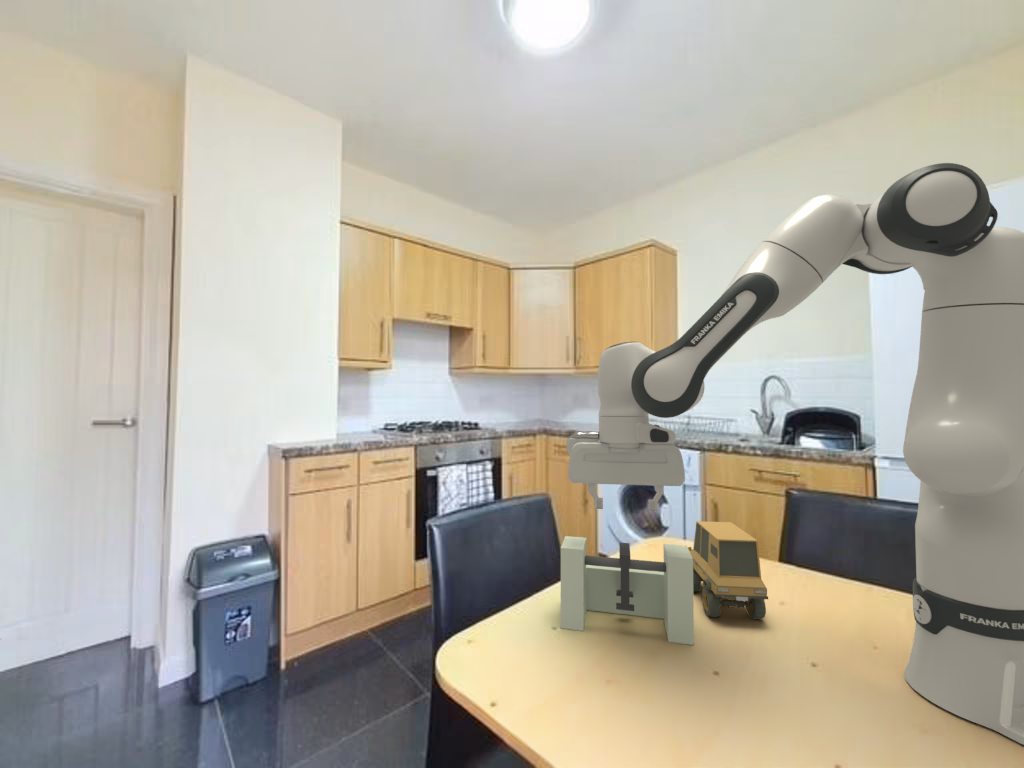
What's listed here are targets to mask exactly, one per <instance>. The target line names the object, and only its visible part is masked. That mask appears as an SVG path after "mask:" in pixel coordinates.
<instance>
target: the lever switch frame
mask: <svg viewBox="0 0 1024 768" xmlns="http://www.w3.org/2000/svg"><path fill="white" fill-rule="evenodd" d="M688 547H689V546H688V545H685V544H674V543H673V544H671V543H663V561H656V560H655V561H652V560H645V559H644V560H641V559H632V558H630V566H629V591H633V597H629V604H633V605H634V611H627V610H618V609H616V603H621V596H616V590H621V566H620V557H608V556H607V557H606V556H599V555H598V556H597V555H596V556H595V555H587V537H583V536H568V535H565V536H564V539H563V541H562V544H561V546H560V629H565V630H573V631H579V632H581V631H582V632H584V630H585V624H586V618H587V617H586V616H587V611H594V612H601V613H611V614H619V615H627V616H636V617H643V618H644V617H645V618H652V619H654V618H655V619H662V620H663V623H664V628H665V633H666V636H667V638H666V639H667V642H668V643H674V644H682V645H691V646H694V645H695V633H694V632H695V631H694V630H695V629H694V627H695V621H694V620H695V619H694V616H695V615H694V612H695V611H694V591H693V558H692V556H691V554H690V551H689V549H688Z"/></svg>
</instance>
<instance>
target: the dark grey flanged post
mask: <svg viewBox="0 0 1024 768" xmlns="http://www.w3.org/2000/svg"><path fill="white" fill-rule="evenodd" d="M619 558H620V566H621V590H616V596H621V603H616V609H618V610H627V611H634V605H633V604H629V597H633V591H629V566H630V559H631V545H630V542H619Z"/></svg>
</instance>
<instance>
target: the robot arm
mask: <svg viewBox="0 0 1024 768" xmlns="http://www.w3.org/2000/svg"><path fill="white" fill-rule="evenodd" d="M990 218H992V220H991V222H990V224H989V223H988V222H989V220H990ZM997 220H998V211H997V209H996V207H995V206H994V205H993V203H992V202H991V199H990V194H989V191H988V188H987V186H986V184H985V182H984V181H983V179H982V178H981V177H980V175H979V174H978V173H976V172H975V171H974V170H973V169H971V168H969V167H968V166H965V165H962V164H958V163H953V162H952V163H951V162H942V163H935V164H930V165H926V166H923V167H921V168H918V169H915V170H913V171H912V172H909V173H908V174H906V175H904V176H902V177H901V178H900V179H897V180H896V181H895V182H894V183H892V184H891V185H890V186H889V187H888V188H887V189H886V190H885V192H883V194H881V195H880V196H879V197H877V198H876V199H875V200H874V201H873V203H871V204H870V203H866V204H860V203H855V202H853V201H851V200H850V199H848V198H846V197H844V196H841V195H837V194H820V195H817V196H814V197H812V198H810V199H809V200H807V201H806V202H804V203H803V204H802V205H800V206H799V207H798V208H797V209H795V210H794V211H793V212H791V214H789V215H788V216H787V217H786V218H784V220H783V221H781V222H780V223H779V224H778V225H777V226H776V227H775V228H774V229H773V230H772V231H771V232H769V233H768V235H767V236H766V237H765V238H763V240H762V241H761V242H760V243H759V244H758V245H757V247H756V248H755V249H754V250H753V251H751V252H752V253H750V255H749V256H748V257H747V259H746V260H745V261H744V262H743V263H742V264H741V266H740V268H739V269H738V271H737V272H736V274H734V277H733V278H732V280H731V281H730V283H729V284H728V286H727V287H726V289H725V290H724V291H723V293H722V294H721V296H720V297H718V299H717V300H716V301H715V302H714V303H713V304H712V305H711V306H710V307H709V308H708V309H707V310H706V311H705V312H704V314H702V315H701V316H700V318H698V319H697V320H696V321H695V323H694V324H693V325H691V327H689V329H687V331H685V332H684V334H683V335H682V336H681V337H679V339H677V340H676V341H675V342H674V343H672V344H670V345H668V346H666V347H664V348H663V349H660V350H657V351H655V350H654V349H651V348H650V347H647V346H645V345H644V344H643V343H641V341H640V342H639V341H629V342H628V341H625V342H621V343H620V342H619V343H616V344H613V345H611V346H609V347H607V348H605V349H604V350H603V351H602V353H600V357H599V363H598V372H597V373H598V374H597V393H598V397H599V400H600V402H599V404H600V406H599V410H598V431H595V432H594V431H593V432H592V431H590V432H581V431H577V432H574V434H573V433H572V434H571V435H568V437H567V439H566V452H567V454H568V455H569V461H568V471H567V472H568V474H567V478H568V479H569V481H570V482H571V483H573V484H585V485H586V484H587V490H588V492H589V494H590V496H591V497H592V499H593V500H594V501H593V502H594V510H603V509H604V498H603V497H599V496H598V494H597V493H596V489H597V485H619V486H622V485H623V486H625V485H626V486H629V485H630V486H654V491H655V492H656V493H655V495H654V496H653V498H652V499H647V500H648V501H647V502H648V511H649V512H658V511H659V509H658V505H659V503H658V502H659V501H660V500H661V498H662V496H663V494H664V491H665V490H664V489H665V488H664V486H665V487H681V486H682V485H683V484H684V483H685V481H686V474H685V472H686V471H685V464H684V459H683V456H682V455H683V454H682V453H681V451H680V448H679V447H677V446H676V445H675V444H674V443H675V442H676V440H677V437H676V436H677V435H676V432H675V431H674V430H672V429H670V428H665V427H662V426H660V425H659V424H651V423H650V421H649V417H650V416H649V415H652V416H653V417H657V418H661V419H662V418H669V419H670V418H674V417H675V418H676V417H678V416H680V415H682V414H684V413H686V412H688V411H690V410H692V409H693V408H695V407H696V406H697V405H698V403H700V402H701V400H702V398H703V396H704V392H705V378H706V377H707V375H708V373H709V371H710V370H711V369H712V368H713V367H714V365H716V364H717V362H719V361H720V360H721V358H722V357H724V356H725V355H726V353H728V351H730V349H732V348H733V346H734V345H735V344H736V343H737V342H739V341H740V339H741V338H743V336H745V334H747V333H748V332H749V331H750V330H751V329H753V328H755V327H756V326H758V325H759V324H761V323H763V322H766V321H768V320H771V319H775V318H779V317H783V316H785V315H786V314H788V313H789V312H791V311H792V310H793V309H794V308H796V307H797V306H799V305H800V304H801V303H803V302H804V301H805V300H806V299H807V298H809V297H810V296H811V295H812V294H813V293H814V292H815V291H816V290H817V289H818V288H819V287H820V286H821V285H823V283H825V281H826V280H827V279H828V278H829V277H830V276H831V275H832V274H833V273H834V272H835V271H836V270H837V269H838V268H839V267H840V266H841V265H845V266H847V267H853V268H855V269H859V270H861V271H863V272H867V273H869V274H875V275H890V274H896V273H901V272H903V271H906V270H908V269H910V268H913V269H915V271H916V272H917V274H918V275H919V277H920V279H921V282H922V286H923V287H922V288H923V291H924V293H923V300H922V301H923V302H922V310H921V323H920V324H921V325H920V338H919V352H918V362H917V364H918V365H917V371H916V376H915V379H914V380H915V381H914V384H913V389H912V392H911V393H912V394H911V397H910V404H909V409H908V415H907V420H906V421H907V422H906V427H905V435H904V441H903V448H902V453H903V458H904V461H905V463H906V466H907V467H908V469H909V471H911V473H912V474H913V475H914V476H915V477H916V478H917V479H918V480H920V482H919V483H920V484H919V496H918V504H917V506H918V507H917V512H916V513H917V515H916V518H915V519H916V520H915V523H914V533H915V534H914V535H915V567H916V569H915V573H916V577H915V578H914V579H913V581H912V608H913V609H912V610H913V617H914V621H915V628H914V635H913V642H912V646H911V652H910V655H909V659H908V662H907V665H906V667H905V670H904V671H903V676H904V679H905V680H906V682H907V683H908V685H910V687H911V688H912V689H913V690H915V691H916V692H917V694H919V695H921V696H923V697H924V698H925V699H927V700H928V701H930V702H931V703H933V704H935V705H937V706H938V707H940V708H942V709H943V710H946V711H948V712H950V713H951V714H954V715H956V716H958V717H960V718H963V719H965V720H967V721H969V722H972V723H976V724H977V725H980V726H983V727H986V728H988V729H989V730H994V731H995V732H998V733H1000V734H1001V735H1003V736H1005V737H1008V738H1009V739H1012V740H1013V741H1015V742H1017V743H1019V744H1021V745H1023V746H1024V232H1022V231H1021V230H1018V229H1015V228H1011V227H1006V226H1005V227H1003V226H996V223H997ZM988 224H989V225H988Z"/></svg>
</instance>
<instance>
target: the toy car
mask: <svg viewBox="0 0 1024 768" xmlns="http://www.w3.org/2000/svg"><path fill="white" fill-rule="evenodd" d="M693 539H694V540H693V547H691V546H687V547H688V549H689V551H690V554H691V556H692V558H693V592H697V593H698V592H700V591H701V588H702V585H703V586H706V587H704V588H702V592H701V600H702V606H703V611H704V613H705V615H706V616H707V617H712V618H718V617H719V616H720V615H721V612H722V611H721V607H727V608H730V607H735V608H744V607H745V609H746V613H747V615H748V616H749V617H750V619H753V620H763V619H764V618H766V614H767V608H766V602H765V600H769V596H768V589H767V586H766V585H765V583H764V581H763V579H762V571H761V561H760V553H759V542H758V540H757V539H756V538H755V537H753V536H752V535H750V534H749V533H747V532H746V531H744V530H743V529H742V528H740V527H738V526H737V525H736V524H734V523H733V522H732V521H731V522H730V521H701V520H698V521H697V520H696V523H695V532H694V538H693ZM692 548H693V549H692ZM724 598H725V599H724ZM731 598H732V599H731Z"/></svg>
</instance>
